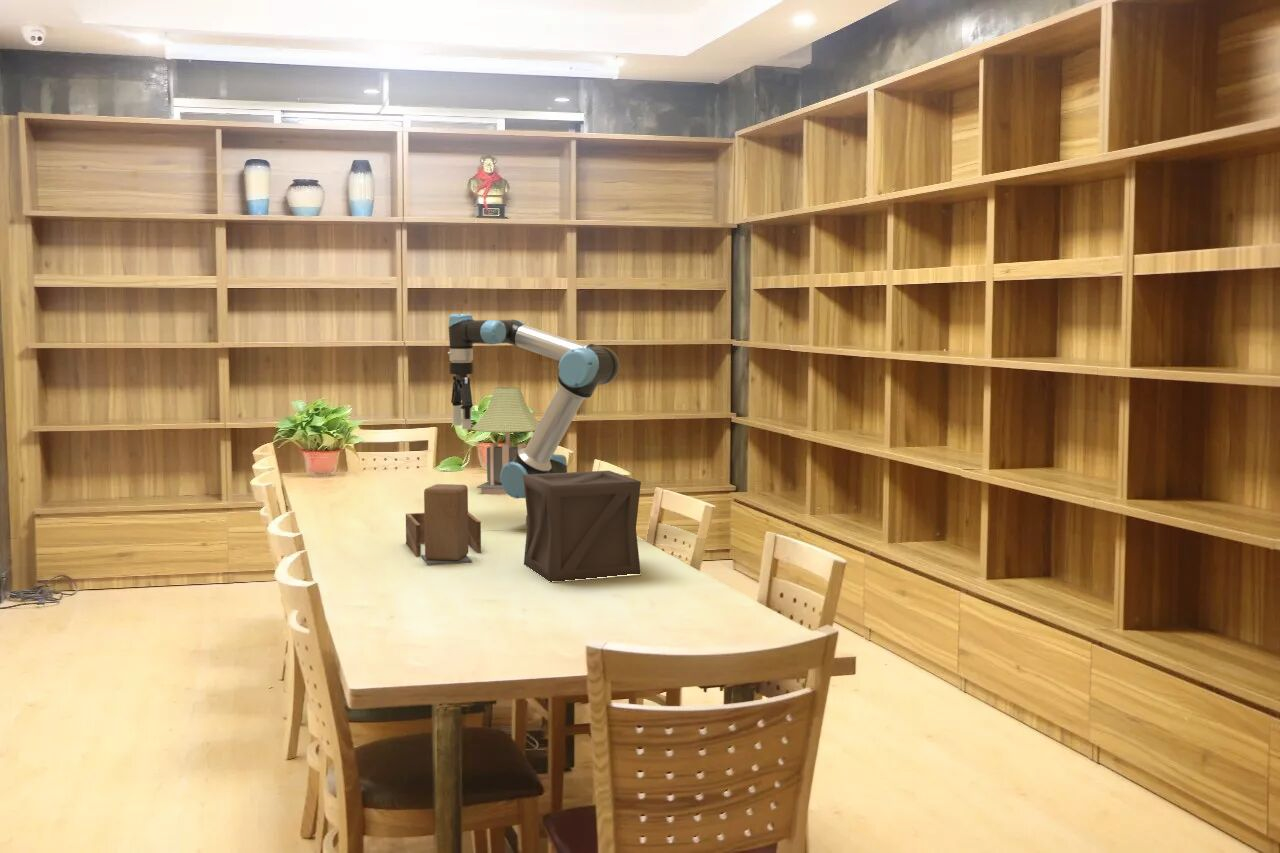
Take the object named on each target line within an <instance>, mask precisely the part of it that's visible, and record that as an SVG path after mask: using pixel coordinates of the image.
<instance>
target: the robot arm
mask: <svg viewBox="0 0 1280 853" xmlns="http://www.w3.org/2000/svg"><path fill="white" fill-rule="evenodd" d="M448 320H449V321H448V338H449V340H448V341H449V346H448V347H449V351H447V355H449V361H450V363H449V374H451V375H453V376H452V388H451V390H452V391H451V399H450V402H451V405H452V424H453V425H452V426H455V427H457V426H462V427H461V430H471V429H472V408H473V406H474V405H473V397H472V396H473V395H472V389H471V378H470V377H468V375H472V374H473V373H474V363H473V361H474V348H473V346H474V344H475V345H476V344H481V345H483V344H484V345H498V344H509V345H512V346H515V347H517V348H518V347H519V348H521V349H523V350H527V351H529V352H533V353H535V354H538V355H540V356H541V355H542V356H544V357H546V358H550V359H553V360H554V361H557V362H559V363H558V366H557V367H558V368H557V369H558V377H557V384H558V387H557V389H556V391H555V393H554V394H553V396H552V398H551V400H550V402H549V404H548V406H547V408H546V409H545V411H544V414H543V415H542V417H541V419H540V421H538V422H539V424H538V426H537V428H536V430H535V431H533V433H532V435H531V438H530V439H529V440H528V443H527V444H526V448H522V449H520V450H519V451H518V453H517V455H516V457H515V458H514V460H513V462H509V463H507V464H506V465H504V467H503V468H502V470H501V473H500V481H501V483H502V487H503V489H504V491H505V492H506V493H507V494H508V495H507V496H510V497H511V498H514V499H525V490H524V480H523V475H527V474H548V473H568V463H567V461H568V460H567V457H566V456H565V455H564V454H555V452H556V450H557V449H558V447H559V445H560V443H561V441H562V439H563V437H564V436H565V434H566V433H567V430H568V429H569V427H570V425H571V423H572V421H573V420H574V418H575V416H576V414H577V413H578V410H579V409H580V407H581V405H582V403H583V402H584V400H586V399H589V398H591V397H592V396H593V394H594V392H595V391H596V388H597V386H601V385H606V384H608V383H611V382H612V381H613V380H615V379H616V377H617V375H618V373H619V371H620V361H619V360H620V359H619V357H618V355H617V354H616V353H615V352H614V351H613V350H612V349H610V348H608V347H606V346H605V347H604V346H601V345H597V344H594V343H588V344H583V343H580V342H578V341H575V340H572V339H569V338H566V337H562V336H560V335H556V334H554V333H551V332H547V331H545V330H541V329H539V328H536V327H533V326H530V325H526V324H525V323H524V322H523V321H521V320H520V319H519V320H517V319H502V320H501V319H482V320H479V319H478V320H474V319H473V315H472V314H471V313H452V314H450V315H449V317H448ZM525 517H526V519H525V524H526V525H527V524H528V517H527V515H526V516H525Z"/></svg>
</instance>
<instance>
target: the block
mask: <svg viewBox="0 0 1280 853" xmlns="http://www.w3.org/2000/svg"><path fill="white" fill-rule="evenodd" d="M468 490H469V489H468V486H467V485H466V484H453V483H452V484H450V483H449V484H448V483H445V484H442V483H437V484H433V485H431V486H429V487H427V488H425V489H424V491H423V501H424V504H423V507H424V510H423V511H424V512H423V513H424V518H425V543H424V555H425V557H426V559H428V560H451V561H457V560H459V559H461V558H462V557H464V556H466V555H467V556H468V554H469V545H468V512H469V505H468V504H469V497H468V496H469V495H468V493H469V491H468Z"/></svg>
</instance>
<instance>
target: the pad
mask: <svg viewBox="0 0 1280 853" xmlns="http://www.w3.org/2000/svg"><path fill="white" fill-rule="evenodd" d="M420 557H421V558H422V559H423V561H424V562H425V564H426V565H427V566H434V565H435V566H437V565H450V564H452V565H453V564H467V563H472V561H473V560H472V559H471V558H470V557H469V556H468V554H467V555H466V556H464V557H462V558H461V559H459V560H457V561H451V560H428V559H426V557H425V554H421V556H420Z"/></svg>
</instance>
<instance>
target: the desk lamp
mask: <svg viewBox="0 0 1280 853" xmlns="http://www.w3.org/2000/svg"><path fill="white" fill-rule="evenodd" d="M539 422H540V421H538V419H537V418H536V417H535V416H534V415H533V414H532V412H531V410H530V409H529V407H528V406H527V403H526V401H525V399H524V396H523V393H522V390H521V387H518V386H516V387H515V386H503V387H502V386H498V387H494V388H493V391H492V395H491V397H490V400H489V403H488V406H487V408H486V410H485V412H484V413H483V414H482V416H481V417H480V419H478V421H477V422H476V423H475V424H474V426H472V427H471V429H470V430H471V431H476V432H485V433H505V443H503V444H501V445H502V446H499V442H498V441H497V442H492V443H490V444H489V446H488V447H486V480H487V482H484V483H482V484H480V485H477V486H476V488H477V489H481V495H501V494H507V493H506V492H505V491H504V489H503V487H502V483H501V481H500V473H501V470H502V468H503V467H504V465H506V464H507V463H509V462H513V460H514V458H515V457H516V455H517V453H518V451H519V450H520V449H522V448H526V446H527V444H526V442H521V443H518V444H517V446H514V442H511V436H510V433H522V432H523V433H526V432H535V430H536V428H537V426H538V424H539Z"/></svg>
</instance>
